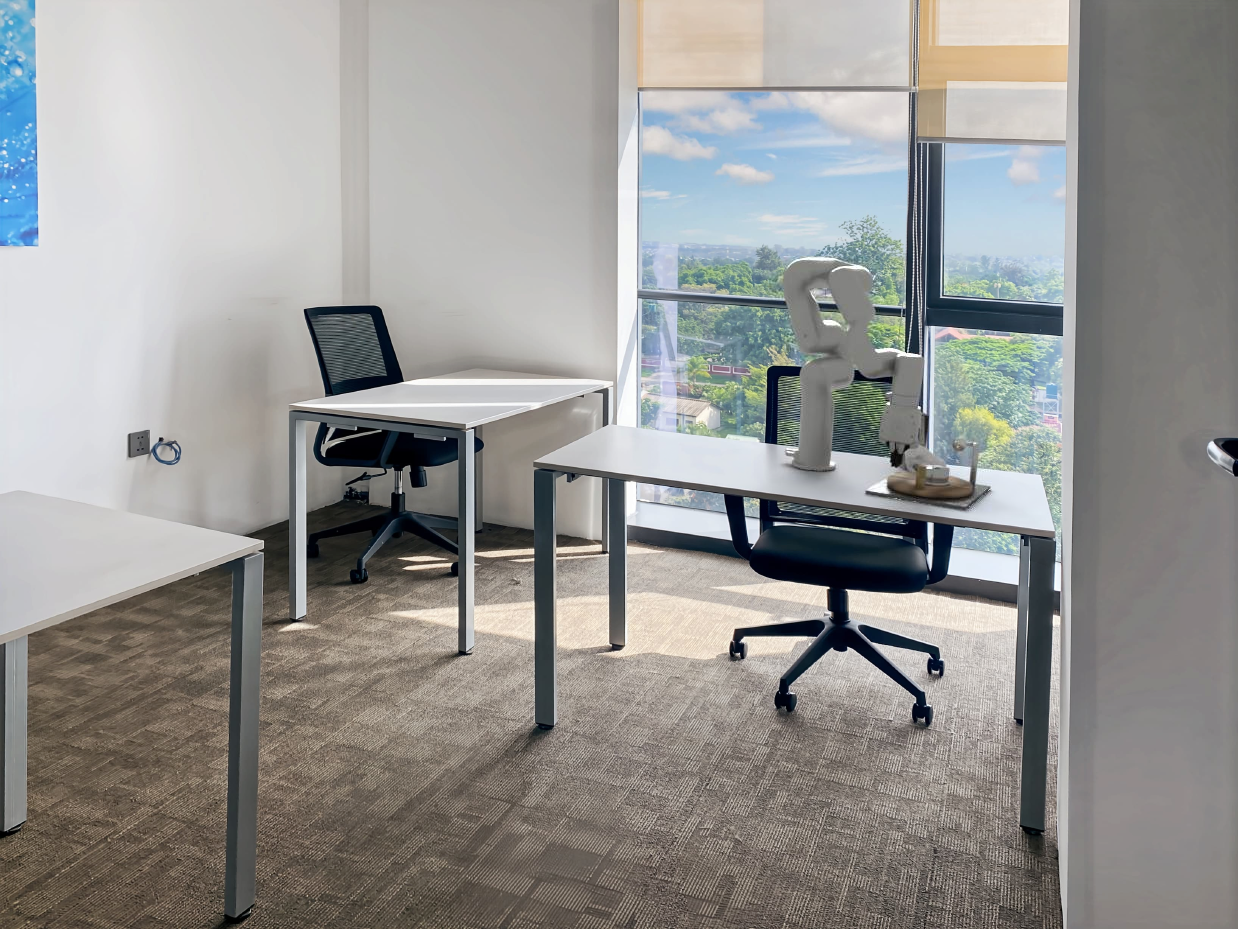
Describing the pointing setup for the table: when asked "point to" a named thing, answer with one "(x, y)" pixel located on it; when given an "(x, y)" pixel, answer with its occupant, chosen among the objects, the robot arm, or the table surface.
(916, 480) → the turntable
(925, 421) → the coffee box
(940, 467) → the cover
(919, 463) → the white rounded lump
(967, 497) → the turntable base
